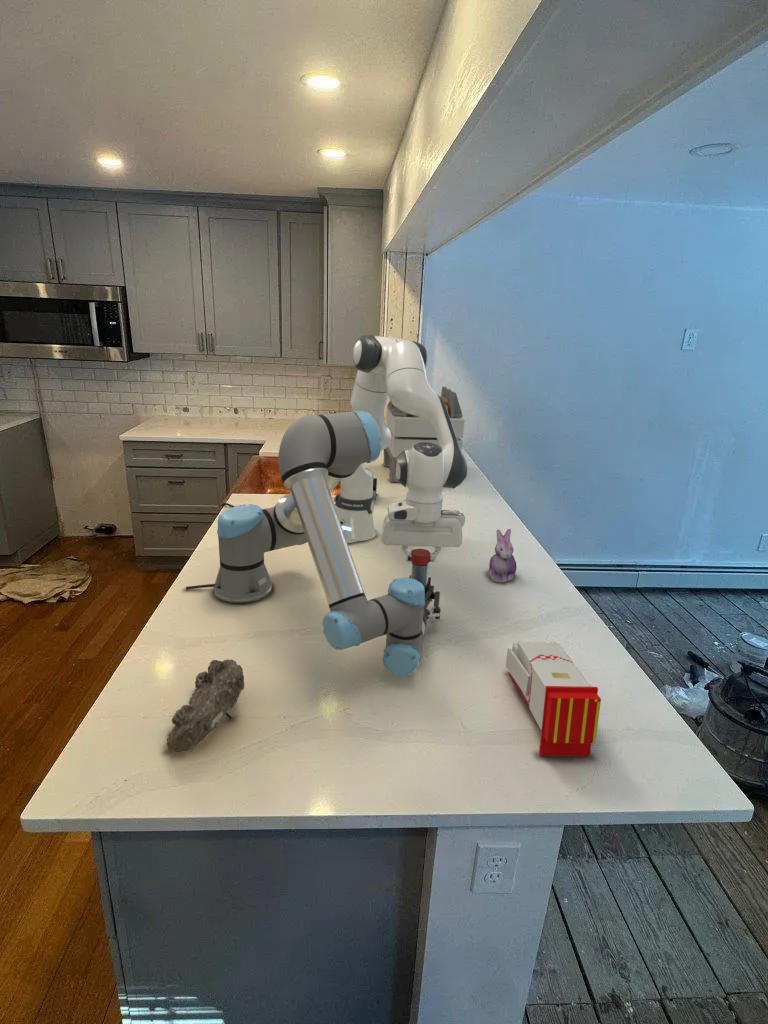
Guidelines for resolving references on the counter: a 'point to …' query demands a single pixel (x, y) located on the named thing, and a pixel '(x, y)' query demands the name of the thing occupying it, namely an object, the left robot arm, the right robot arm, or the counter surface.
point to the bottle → (420, 574)
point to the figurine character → (374, 487)
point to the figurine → (502, 559)
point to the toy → (556, 697)
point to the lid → (420, 556)
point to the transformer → (417, 429)
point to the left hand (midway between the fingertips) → (420, 580)
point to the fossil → (206, 705)
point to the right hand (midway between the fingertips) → (420, 560)
